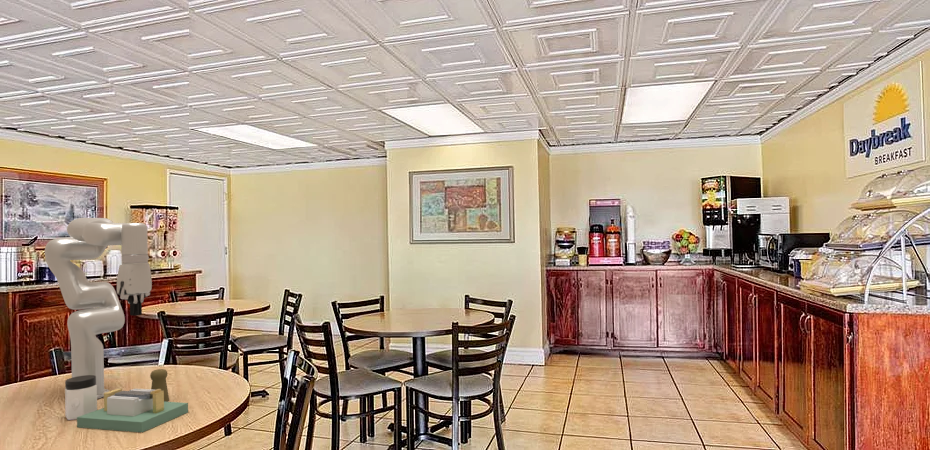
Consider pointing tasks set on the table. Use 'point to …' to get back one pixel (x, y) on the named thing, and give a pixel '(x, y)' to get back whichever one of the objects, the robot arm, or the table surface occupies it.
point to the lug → (158, 400)
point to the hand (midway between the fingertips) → (135, 315)
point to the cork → (160, 382)
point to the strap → (135, 394)
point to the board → (132, 420)
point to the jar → (80, 396)
